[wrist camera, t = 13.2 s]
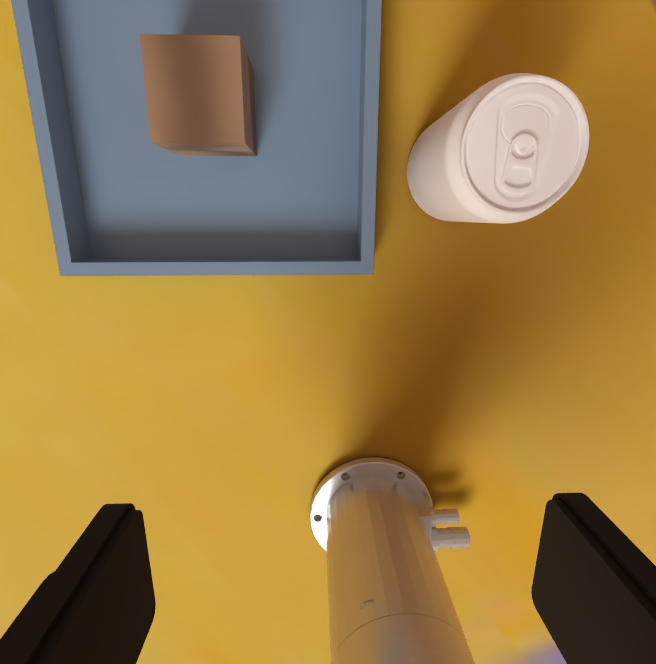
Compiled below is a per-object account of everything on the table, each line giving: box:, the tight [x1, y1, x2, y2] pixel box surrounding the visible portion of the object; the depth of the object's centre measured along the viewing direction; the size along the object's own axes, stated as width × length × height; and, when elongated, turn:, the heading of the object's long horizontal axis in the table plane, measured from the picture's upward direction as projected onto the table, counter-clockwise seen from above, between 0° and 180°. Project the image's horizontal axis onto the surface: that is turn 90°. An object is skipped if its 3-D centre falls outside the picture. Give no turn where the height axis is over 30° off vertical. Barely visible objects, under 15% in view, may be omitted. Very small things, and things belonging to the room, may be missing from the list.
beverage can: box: [407, 73, 589, 224], centre depth 28 cm, size 8×8×12 cm
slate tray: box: [11, 0, 382, 276], centre depth 30 cm, size 24×24×4 cm
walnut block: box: [139, 34, 257, 156], centre depth 28 cm, size 6×6×6 cm
